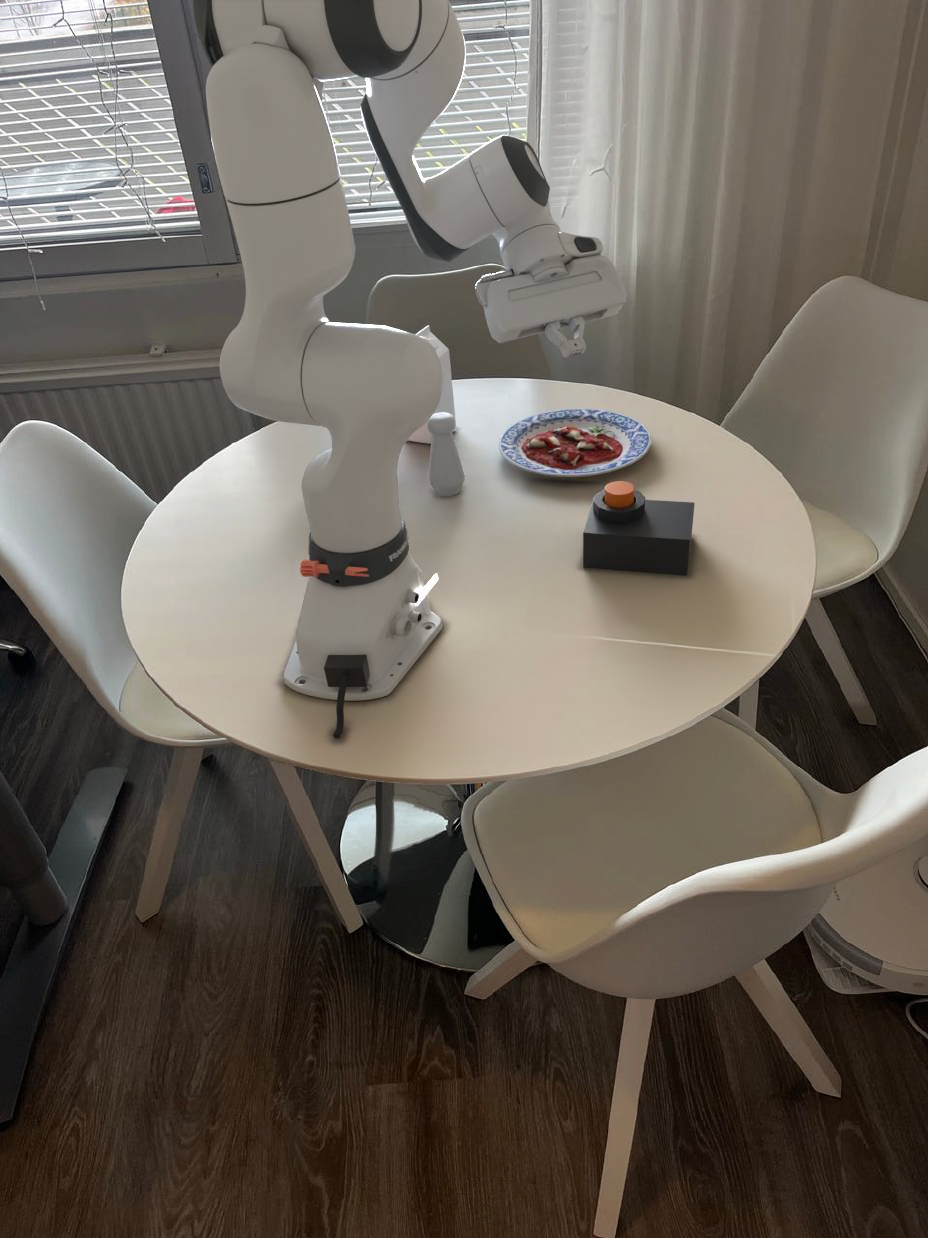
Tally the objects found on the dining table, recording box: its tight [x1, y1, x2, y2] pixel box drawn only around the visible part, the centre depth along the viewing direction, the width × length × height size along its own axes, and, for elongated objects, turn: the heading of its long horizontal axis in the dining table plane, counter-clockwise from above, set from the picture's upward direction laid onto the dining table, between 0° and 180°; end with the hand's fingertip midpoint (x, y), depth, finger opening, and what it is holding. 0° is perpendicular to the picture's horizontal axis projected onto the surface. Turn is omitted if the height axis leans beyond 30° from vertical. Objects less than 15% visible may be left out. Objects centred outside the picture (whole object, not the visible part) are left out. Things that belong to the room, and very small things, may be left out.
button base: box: [582, 488, 695, 577], centre depth 120 cm, size 14×10×8 cm
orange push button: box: [604, 480, 636, 508], centre depth 120 cm, size 4×4×2 cm
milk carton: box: [406, 324, 457, 445], centre depth 154 cm, size 7×7×19 cm
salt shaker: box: [427, 412, 466, 498], centre depth 138 cm, size 6×6×13 cm
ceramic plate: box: [498, 408, 652, 478], centre depth 148 cm, size 26×26×3 cm
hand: (575, 353), depth 119 cm, fingers closed
